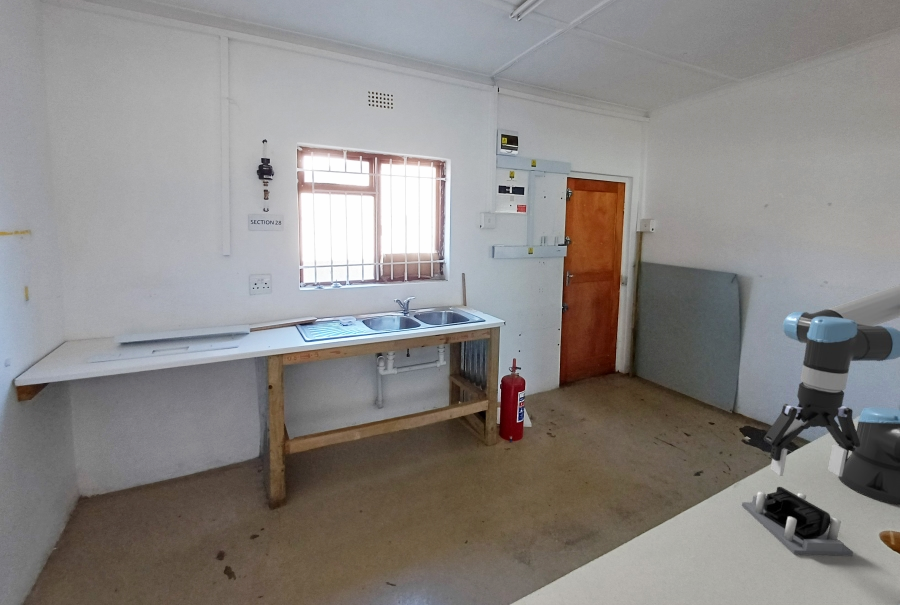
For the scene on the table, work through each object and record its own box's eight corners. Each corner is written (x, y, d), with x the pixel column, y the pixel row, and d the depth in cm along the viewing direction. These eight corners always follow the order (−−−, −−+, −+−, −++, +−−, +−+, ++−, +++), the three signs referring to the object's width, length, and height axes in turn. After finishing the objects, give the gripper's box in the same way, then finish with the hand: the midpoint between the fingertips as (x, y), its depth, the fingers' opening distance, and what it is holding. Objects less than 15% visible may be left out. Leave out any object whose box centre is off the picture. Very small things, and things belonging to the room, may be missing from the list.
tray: (791, 507, 105) (796, 486, 104) (852, 555, 89) (858, 531, 88) (741, 505, 105) (745, 484, 104) (793, 554, 89) (798, 529, 88)
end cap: (827, 536, 93) (833, 510, 92) (807, 543, 91) (812, 516, 90) (781, 508, 103) (785, 484, 102) (761, 513, 101) (765, 489, 99)
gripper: (860, 380, 95) (843, 464, 98) (753, 379, 95) (740, 463, 98) (895, 393, 87) (875, 483, 91) (779, 392, 87) (764, 482, 91)
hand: (805, 472), depth 95 cm, fingers open, 13 cm apart
